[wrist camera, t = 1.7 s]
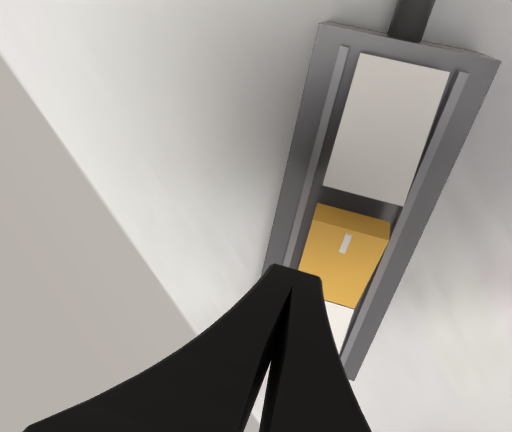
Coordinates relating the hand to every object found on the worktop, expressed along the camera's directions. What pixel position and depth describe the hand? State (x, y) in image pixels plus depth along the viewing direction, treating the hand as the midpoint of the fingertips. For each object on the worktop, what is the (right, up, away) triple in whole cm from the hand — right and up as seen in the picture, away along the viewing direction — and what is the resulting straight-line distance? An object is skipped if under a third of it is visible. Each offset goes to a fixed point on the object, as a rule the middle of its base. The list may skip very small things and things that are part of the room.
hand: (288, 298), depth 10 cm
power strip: (+4, +5, +8) cm, 10 cm away
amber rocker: (+3, +1, +6) cm, 7 cm away
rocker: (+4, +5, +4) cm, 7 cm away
